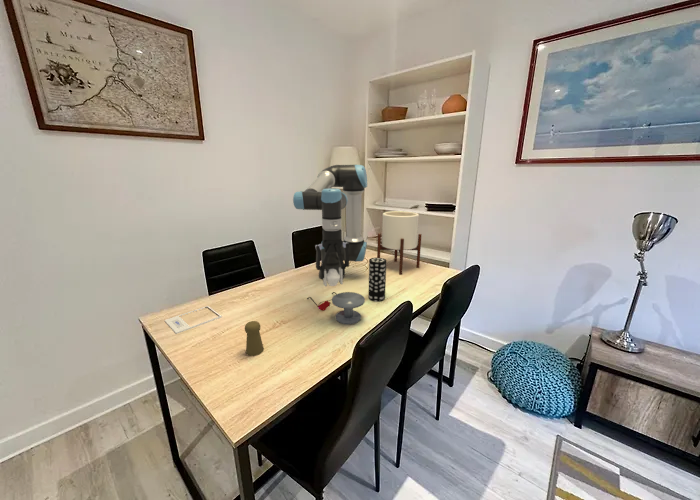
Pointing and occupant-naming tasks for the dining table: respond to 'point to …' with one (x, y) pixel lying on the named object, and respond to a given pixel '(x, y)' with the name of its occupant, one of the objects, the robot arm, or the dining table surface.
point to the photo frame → (181, 325)
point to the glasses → (323, 305)
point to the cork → (253, 339)
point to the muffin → (332, 277)
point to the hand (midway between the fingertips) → (333, 283)
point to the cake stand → (348, 307)
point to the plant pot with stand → (400, 234)
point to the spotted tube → (377, 279)
